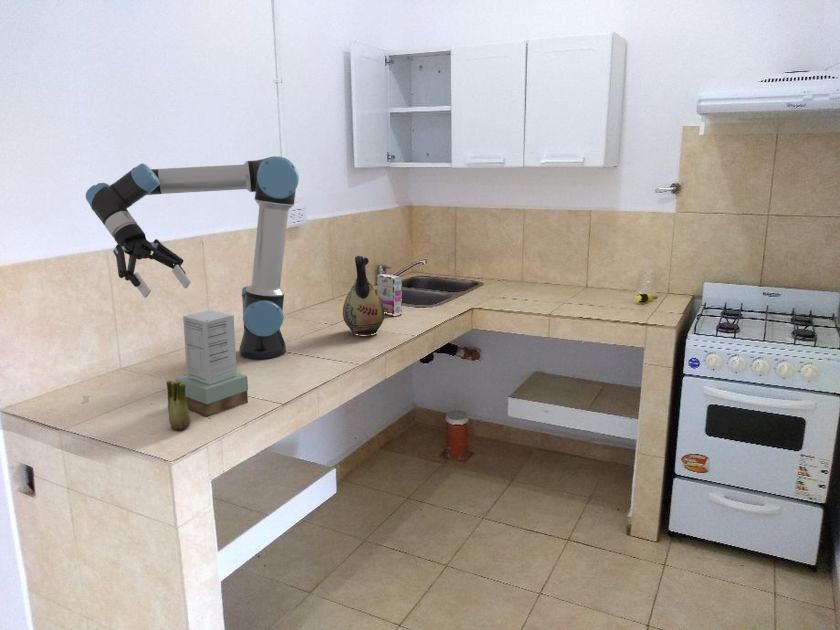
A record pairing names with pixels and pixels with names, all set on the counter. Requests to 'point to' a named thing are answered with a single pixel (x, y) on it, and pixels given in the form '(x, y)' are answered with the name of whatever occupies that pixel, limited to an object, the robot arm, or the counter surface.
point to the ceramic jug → (363, 303)
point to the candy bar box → (390, 292)
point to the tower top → (214, 388)
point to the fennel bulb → (177, 406)
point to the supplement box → (210, 346)
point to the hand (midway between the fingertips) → (168, 289)
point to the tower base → (217, 404)
